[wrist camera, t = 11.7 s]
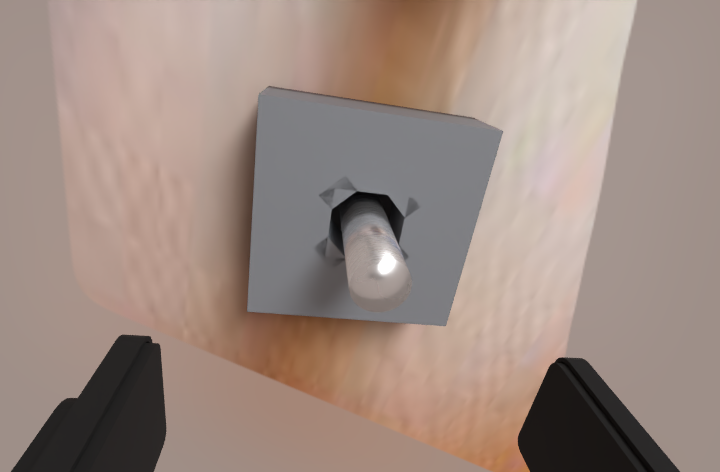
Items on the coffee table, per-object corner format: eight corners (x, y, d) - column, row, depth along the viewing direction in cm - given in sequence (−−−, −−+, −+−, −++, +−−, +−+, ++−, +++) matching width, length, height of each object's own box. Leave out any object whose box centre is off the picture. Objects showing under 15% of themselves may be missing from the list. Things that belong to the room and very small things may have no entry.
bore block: (268, 86, 26) (258, 94, 22) (473, 117, 28) (503, 131, 24) (257, 274, 32) (247, 311, 27) (428, 289, 34) (445, 326, 29)
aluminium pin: (341, 182, 28) (354, 255, 18) (383, 187, 29) (418, 261, 19) (336, 221, 30) (344, 310, 20) (376, 226, 30) (404, 314, 20)
